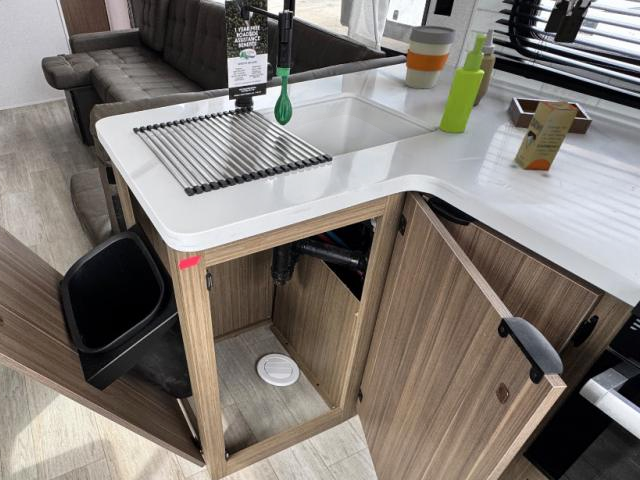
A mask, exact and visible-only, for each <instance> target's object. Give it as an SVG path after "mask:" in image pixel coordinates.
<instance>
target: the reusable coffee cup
mask: <svg viewBox="0 0 640 480" xmlns="http://www.w3.org/2000/svg"><path fill="white" fill-rule="evenodd" d="M456 31H457V30H456V29H454V28H451V27H446V26H439V25H438V26H437V25H416V26H413V27H412V29H411V33H410V35H409V46H408V47H409V48H408V49H407V53H406V62H405V67H406V73H405V81H404V83H405V85H406V86H407V85H408V87H410V86H411V87H410V88H414V87H416V89H421V88H428V89H431V88H430V87H433V88H435V86H436V84H437V82H438V79H439V76H440V74H441V72H442V70H444V68H445V65H446V63H447V60H448V58H449V56H450V49H451V47H452V44H453V43H454V42H455V37H456Z"/></svg>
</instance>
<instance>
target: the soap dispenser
mask: <svg viewBox="0 0 640 480" xmlns="http://www.w3.org/2000/svg"><path fill="white" fill-rule="evenodd" d="M485 39H486V33H485V34H484V33H477V34H476V36H475V42H474V45H473V48H472V50H470V51H468V52H467V54H466V57H465V60H464V64H463V66H462V67H458V68H456V70H455V74H454V77H453V80H452V83H451V87H450V90H449V94H448V97H447V99H446V102H445V107H444V109H443V114H442V115H441V119H440V124H439V130H442V131H443V132H446V133H453V134H459V133H463V132H465V130H466V128H467V124H468V122H469V118H470V115H471V112H472V109H473V108H474V105H473V104H474V101H475V98H476V95H477V92H478V89H479V86H480V83H481V81H482V78H483V75H484V71H483V70H480V69H479V68H480V65H481V62H482V59H483V56H484V53H482V52H481V49H482V46H483V43H484V41H485Z"/></svg>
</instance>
